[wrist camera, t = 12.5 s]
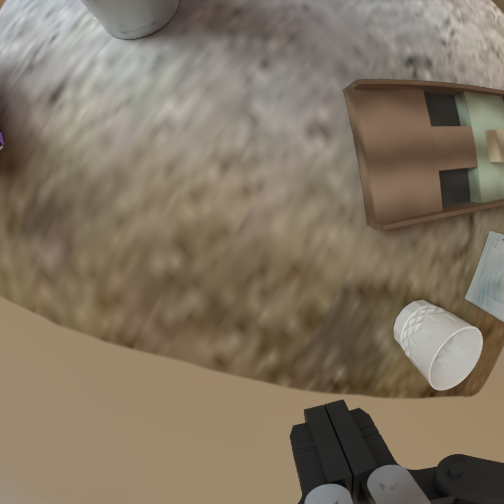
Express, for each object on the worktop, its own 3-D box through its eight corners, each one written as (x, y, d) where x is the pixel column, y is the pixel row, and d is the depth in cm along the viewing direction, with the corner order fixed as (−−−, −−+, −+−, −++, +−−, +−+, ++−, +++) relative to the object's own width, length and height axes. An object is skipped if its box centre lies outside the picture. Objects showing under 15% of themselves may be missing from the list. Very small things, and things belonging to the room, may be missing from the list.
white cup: (386, 307, 35) (429, 345, 25) (436, 286, 35) (485, 315, 25) (391, 358, 37) (427, 401, 27) (438, 336, 37) (479, 371, 27)
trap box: (343, 90, 29) (356, 79, 25) (492, 96, 30) (510, 91, 26) (367, 224, 33) (383, 230, 29) (507, 197, 33) (526, 200, 29)
